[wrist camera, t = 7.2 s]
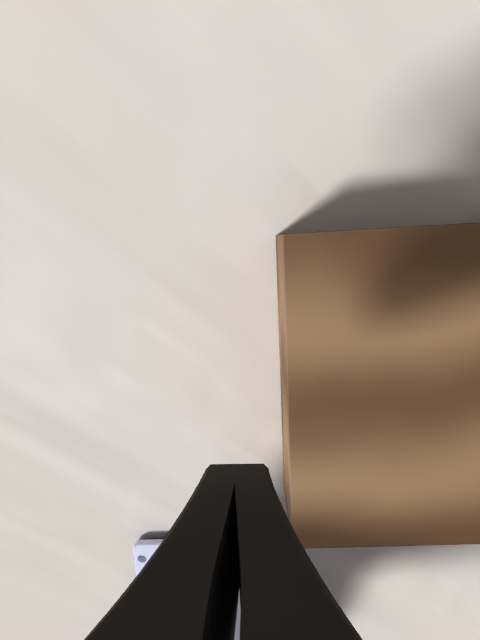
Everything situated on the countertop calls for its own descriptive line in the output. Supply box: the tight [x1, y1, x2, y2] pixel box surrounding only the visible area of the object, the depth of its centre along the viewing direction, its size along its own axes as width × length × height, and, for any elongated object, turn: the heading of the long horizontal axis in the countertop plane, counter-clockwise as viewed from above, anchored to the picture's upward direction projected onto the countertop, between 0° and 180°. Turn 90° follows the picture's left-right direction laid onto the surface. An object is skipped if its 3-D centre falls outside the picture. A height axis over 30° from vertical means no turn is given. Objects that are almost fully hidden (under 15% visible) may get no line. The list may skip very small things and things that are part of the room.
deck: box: [276, 223, 480, 548], centre depth 16 cm, size 14×10×4 cm
